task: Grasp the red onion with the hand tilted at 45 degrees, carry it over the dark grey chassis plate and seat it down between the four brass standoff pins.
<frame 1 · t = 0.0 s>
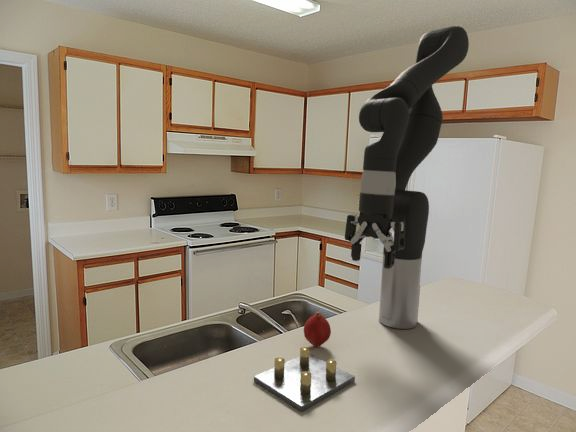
hand: (371, 264, 93), 17 cm above the countertop, tool pointing down, fingers open, 8 cm apart
onion: (316, 347, 89), on the countertop
chassis: (304, 381, 75), on the countertop
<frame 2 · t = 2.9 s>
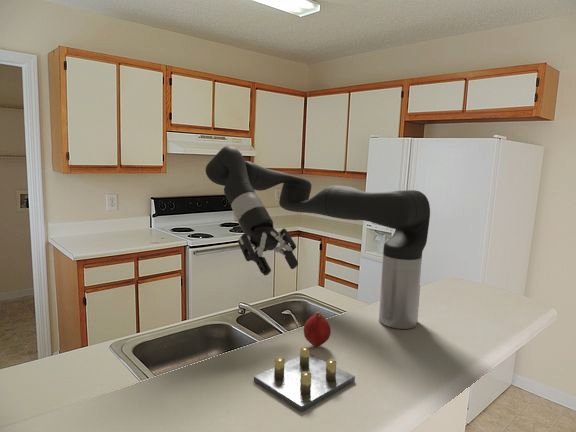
hand: (281, 270, 95), 14 cm above the countertop, tool tilted 45°, fingers open, 8 cm apart
nothing on the countertop moved.
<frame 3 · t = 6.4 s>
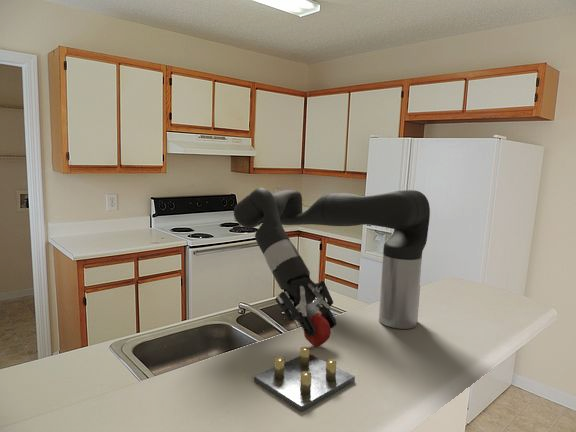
hand: (323, 330, 87), 4 cm above the countertop, tool tilted 45°, fingers closed on onion, 5 cm apart
onion: (316, 347, 89), on the countertop, touching gripper
when the fingers open (7 cm above the countertop, at t = 11.4 s): onion drops 1 cm, resting on chassis.
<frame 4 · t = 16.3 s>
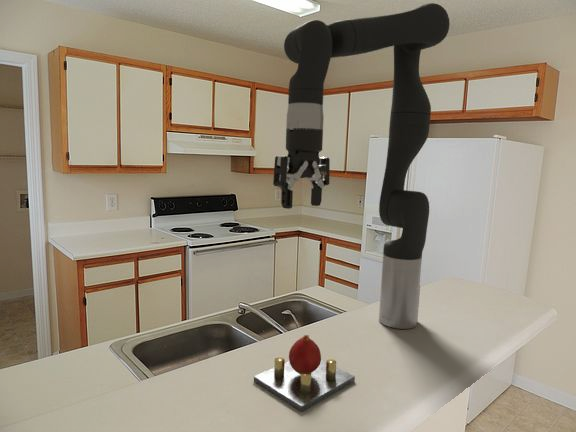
hand: (301, 206, 86), 30 cm above the countertop, tool pointing down, fingers open, 8 cm apart
onion: (304, 376, 75), point 1 cm above the countertop, touching chassis
at the end: onion 0.2 cm off-centre on the chassis, point 0.8 cm above the chassis's base; the gripper is holding nothing; onion tilted 0° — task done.
